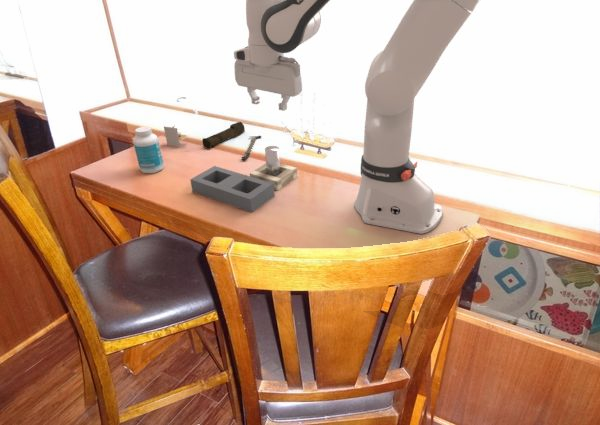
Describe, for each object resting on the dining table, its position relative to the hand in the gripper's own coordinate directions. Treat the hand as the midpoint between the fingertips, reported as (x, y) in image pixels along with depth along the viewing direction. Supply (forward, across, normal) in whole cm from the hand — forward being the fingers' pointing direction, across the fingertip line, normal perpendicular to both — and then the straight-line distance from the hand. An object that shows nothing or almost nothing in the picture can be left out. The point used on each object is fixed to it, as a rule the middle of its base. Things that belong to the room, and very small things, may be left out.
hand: (269, 106), depth 119 cm
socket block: (+22, 0, 0) cm, 22 cm away
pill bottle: (+23, +37, +15) cm, 46 cm away
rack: (+22, +4, +13) cm, 26 cm away
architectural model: (+24, +46, -2) cm, 52 cm away
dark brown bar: (+23, +34, -15) cm, 44 cm away
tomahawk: (+23, +22, -13) cm, 35 cm away
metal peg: (+22, 0, 0) cm, 22 cm away
